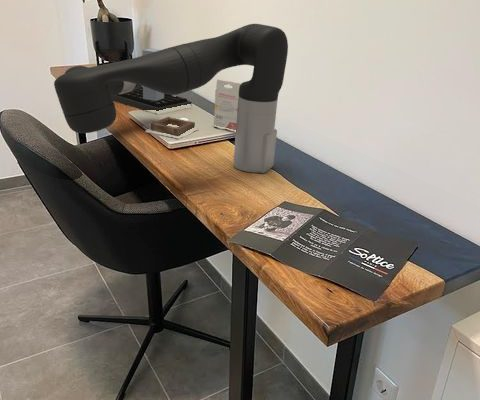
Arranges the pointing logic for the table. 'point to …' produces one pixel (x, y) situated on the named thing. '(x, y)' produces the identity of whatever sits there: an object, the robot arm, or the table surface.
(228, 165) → the table surface
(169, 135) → the mat
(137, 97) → the computer keyboard
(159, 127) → the brown square frame
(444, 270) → the table surface
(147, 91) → the grey rectangular bar
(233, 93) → the ink cartridge box
